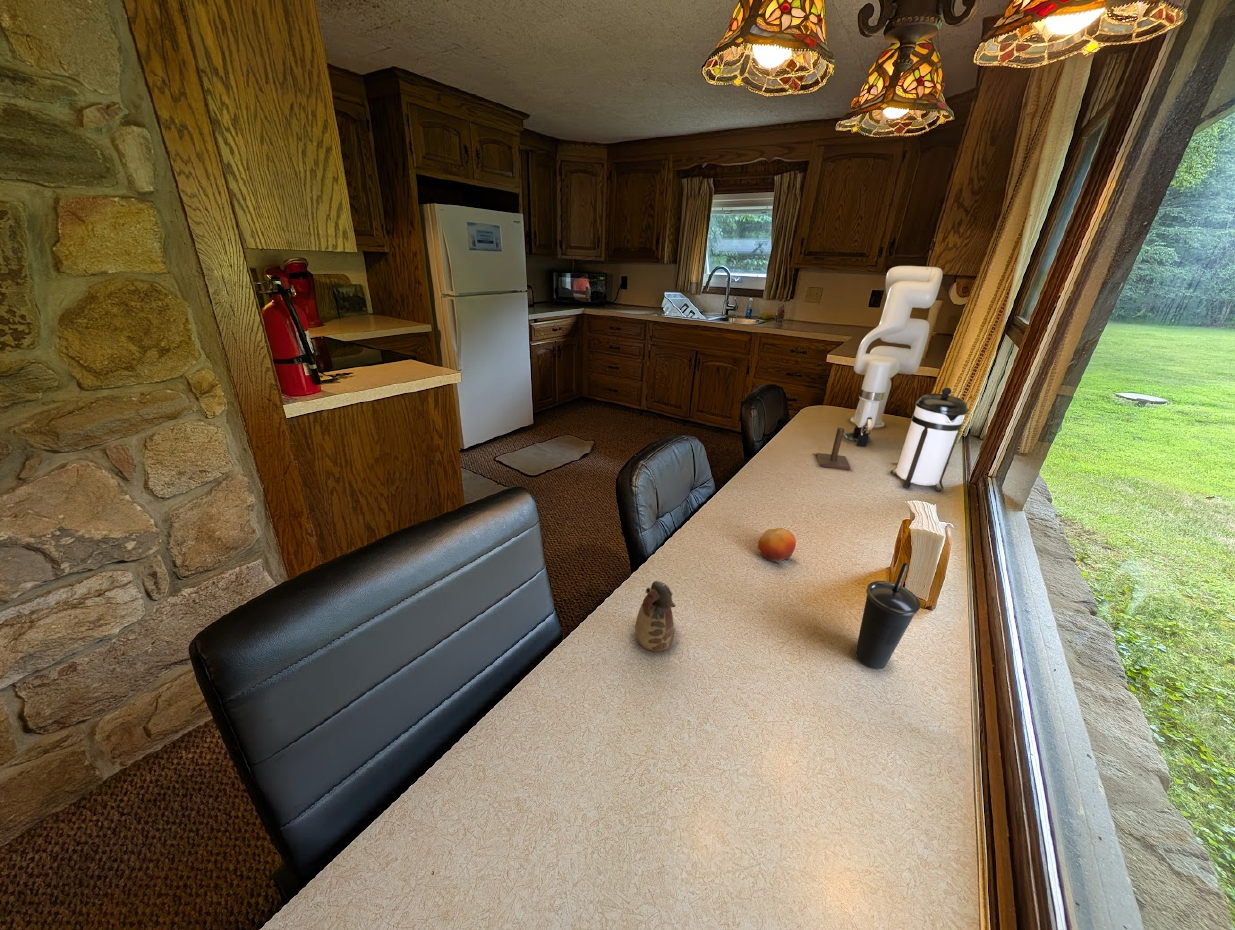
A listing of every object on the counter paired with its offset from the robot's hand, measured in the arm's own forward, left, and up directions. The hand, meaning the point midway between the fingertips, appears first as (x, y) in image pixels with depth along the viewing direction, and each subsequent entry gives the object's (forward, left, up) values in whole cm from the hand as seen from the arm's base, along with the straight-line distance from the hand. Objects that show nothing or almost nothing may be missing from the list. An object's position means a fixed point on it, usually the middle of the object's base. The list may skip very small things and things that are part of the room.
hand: (859, 441), depth 169 cm
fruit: (+81, -33, -1) cm, 88 cm away
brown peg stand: (+21, -12, -1) cm, 24 cm away
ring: (-4, 0, 0) cm, 4 cm away
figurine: (+113, -55, -1) cm, 126 cm away
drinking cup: (+107, -18, -1) cm, 109 cm away
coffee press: (+27, +11, -1) cm, 29 cm away
